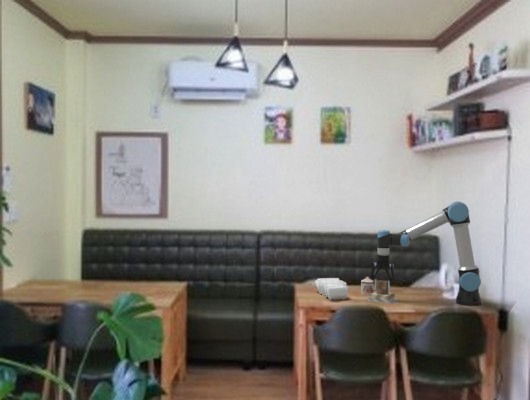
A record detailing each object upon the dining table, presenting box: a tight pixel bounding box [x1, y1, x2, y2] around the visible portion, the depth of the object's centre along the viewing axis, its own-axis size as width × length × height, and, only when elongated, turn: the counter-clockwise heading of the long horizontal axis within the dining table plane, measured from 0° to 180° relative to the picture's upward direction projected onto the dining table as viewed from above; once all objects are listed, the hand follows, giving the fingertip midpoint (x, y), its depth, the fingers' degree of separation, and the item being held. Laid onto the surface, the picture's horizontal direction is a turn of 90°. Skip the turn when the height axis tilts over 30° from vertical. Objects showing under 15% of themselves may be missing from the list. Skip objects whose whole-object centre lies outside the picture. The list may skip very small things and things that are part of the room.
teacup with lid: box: [360, 276, 377, 296], centre depth 371 cm, size 12×9×12 cm
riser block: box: [369, 291, 396, 304], centre depth 351 cm, size 12×12×4 cm
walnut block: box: [375, 279, 390, 295], centre depth 351 cm, size 6×6×8 cm
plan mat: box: [364, 297, 400, 304], centre depth 351 cm, size 18×16×1 cm
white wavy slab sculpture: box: [314, 277, 349, 300], centre depth 363 cm, size 35×16×11 cm, turn 8°
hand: (382, 290), depth 351 cm, fingers open, 8 cm apart
